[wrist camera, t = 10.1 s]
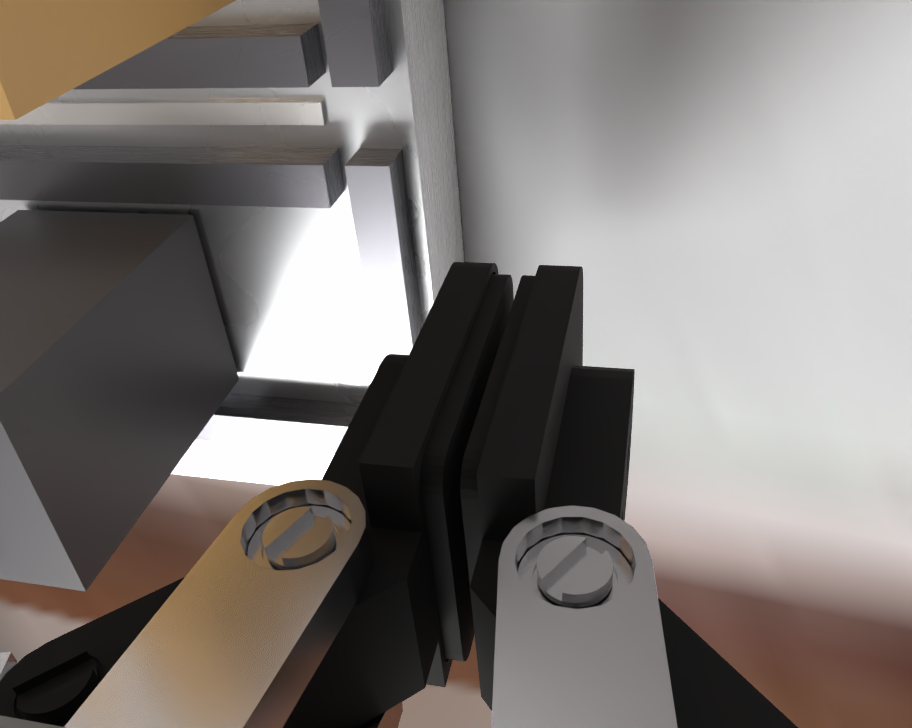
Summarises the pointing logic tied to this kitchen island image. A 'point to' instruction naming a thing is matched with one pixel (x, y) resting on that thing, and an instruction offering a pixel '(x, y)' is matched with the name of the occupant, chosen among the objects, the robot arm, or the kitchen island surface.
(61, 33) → the fader
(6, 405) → the fader
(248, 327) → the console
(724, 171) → the kitchen island surface
